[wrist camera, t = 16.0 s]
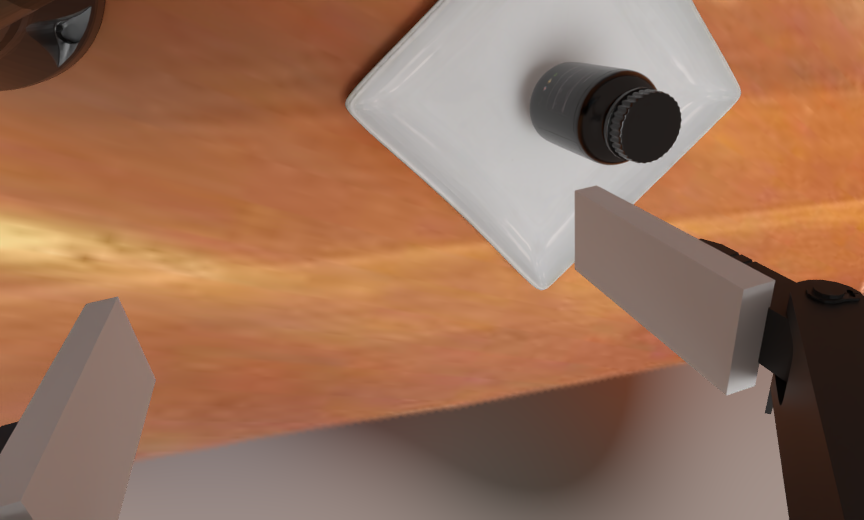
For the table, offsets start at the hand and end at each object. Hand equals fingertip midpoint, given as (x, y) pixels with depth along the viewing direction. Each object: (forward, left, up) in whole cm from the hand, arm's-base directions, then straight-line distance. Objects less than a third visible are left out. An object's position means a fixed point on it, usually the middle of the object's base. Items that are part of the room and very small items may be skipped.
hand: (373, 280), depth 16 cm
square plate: (+3, +22, -33) cm, 40 cm away
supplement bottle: (+3, +22, -29) cm, 36 cm away
